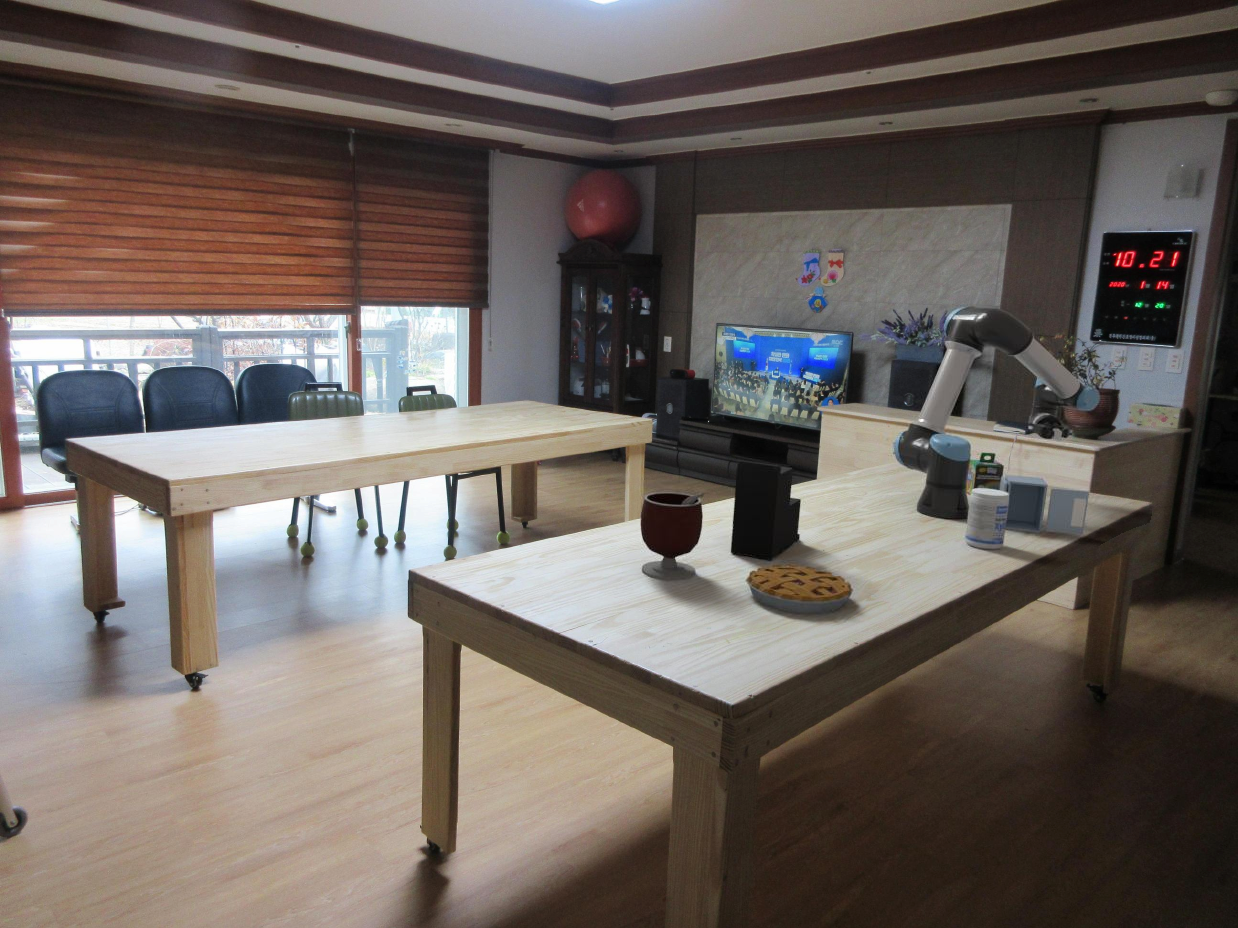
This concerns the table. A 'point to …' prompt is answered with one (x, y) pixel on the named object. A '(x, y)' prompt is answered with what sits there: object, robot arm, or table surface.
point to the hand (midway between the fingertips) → (1058, 436)
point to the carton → (1024, 502)
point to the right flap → (1067, 511)
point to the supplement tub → (987, 518)
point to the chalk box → (984, 473)
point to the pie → (799, 589)
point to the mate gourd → (671, 532)
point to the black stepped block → (764, 510)
